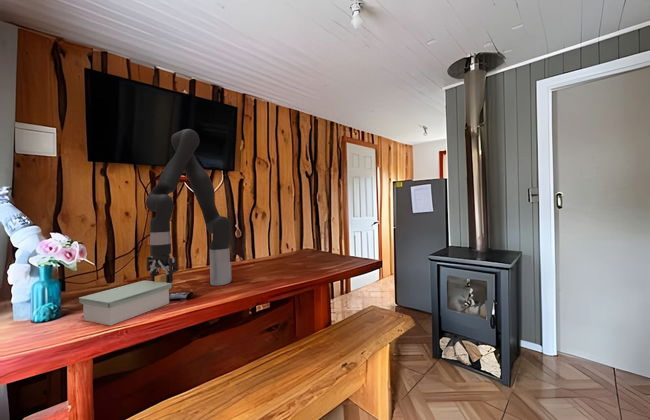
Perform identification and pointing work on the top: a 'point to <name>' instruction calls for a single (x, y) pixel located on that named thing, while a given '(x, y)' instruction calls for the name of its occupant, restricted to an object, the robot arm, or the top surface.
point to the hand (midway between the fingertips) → (161, 282)
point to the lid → (126, 293)
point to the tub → (125, 309)
